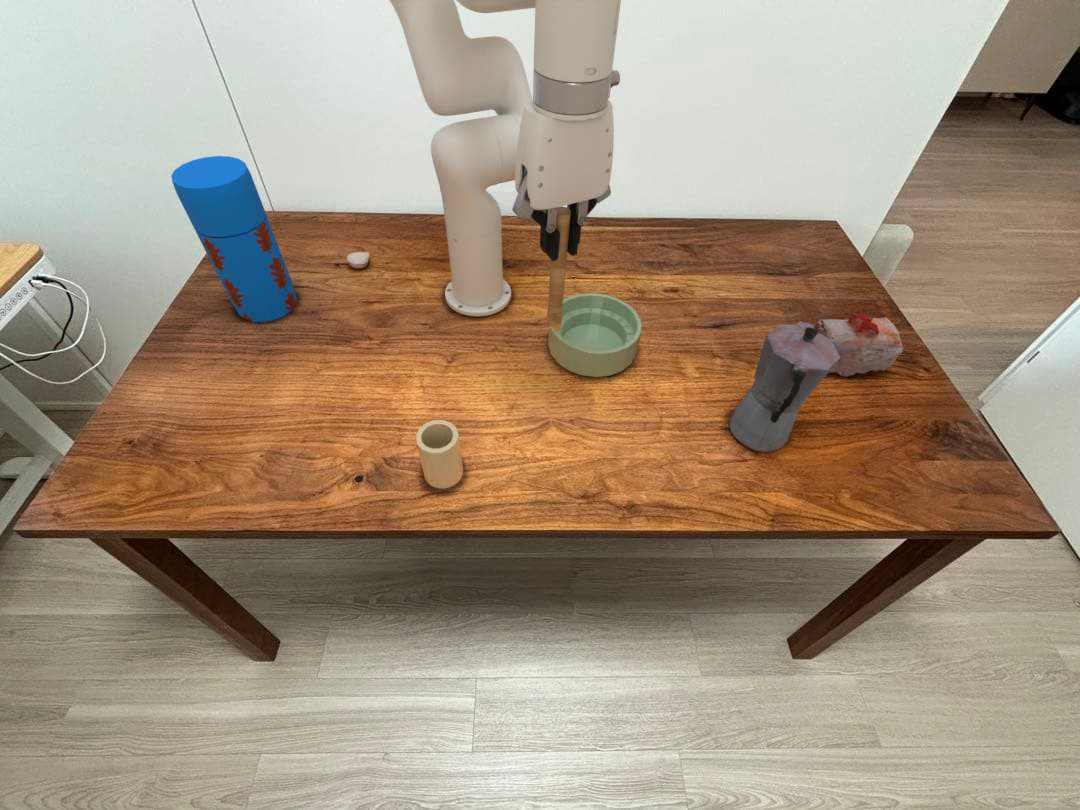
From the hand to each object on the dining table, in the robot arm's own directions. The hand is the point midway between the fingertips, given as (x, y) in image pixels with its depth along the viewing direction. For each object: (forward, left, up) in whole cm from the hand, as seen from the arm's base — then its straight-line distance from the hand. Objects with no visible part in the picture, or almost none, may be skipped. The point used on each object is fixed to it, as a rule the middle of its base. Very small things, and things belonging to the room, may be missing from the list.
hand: (559, 251), depth 66 cm
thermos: (-44, -36, -27) cm, 63 cm away
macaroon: (-49, -17, -27) cm, 58 cm away
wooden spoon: (0, 0, -12) cm, 12 cm away
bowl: (-7, +12, -27) cm, 30 cm away
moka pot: (+21, +25, -27) cm, 43 cm away
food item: (+16, +49, -27) cm, 59 cm away
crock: (+6, -21, -27) cm, 35 cm away
